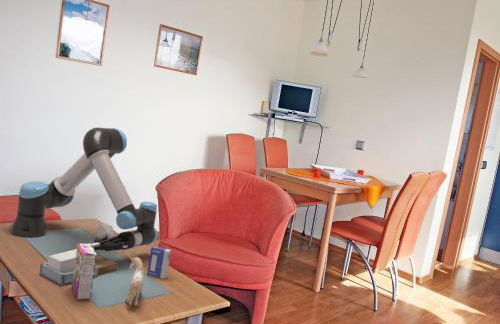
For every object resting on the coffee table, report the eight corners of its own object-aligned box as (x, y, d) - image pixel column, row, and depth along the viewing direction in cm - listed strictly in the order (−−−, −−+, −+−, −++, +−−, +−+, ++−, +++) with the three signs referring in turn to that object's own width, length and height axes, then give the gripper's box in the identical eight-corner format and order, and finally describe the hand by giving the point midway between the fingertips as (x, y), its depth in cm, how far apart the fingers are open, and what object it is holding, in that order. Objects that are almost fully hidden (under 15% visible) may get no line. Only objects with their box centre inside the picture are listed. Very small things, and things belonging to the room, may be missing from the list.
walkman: (146, 274, 187) (151, 246, 186) (149, 272, 190) (154, 245, 188) (164, 279, 185) (169, 251, 184) (167, 277, 188) (171, 249, 187)
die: (116, 242, 223) (114, 223, 227) (111, 237, 215) (109, 218, 219) (99, 245, 222) (98, 227, 226) (94, 241, 214) (92, 222, 218)
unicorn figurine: (138, 287, 173) (143, 253, 172) (148, 310, 156) (154, 273, 154) (119, 286, 170) (124, 252, 169) (126, 310, 153) (132, 272, 151)
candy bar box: (70, 286, 163) (77, 243, 161) (85, 286, 165) (91, 243, 164) (75, 300, 153) (82, 253, 152) (90, 299, 156) (97, 253, 154)
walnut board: (77, 265, 183) (78, 258, 182) (96, 261, 191) (97, 254, 191) (97, 275, 177) (98, 268, 176) (116, 270, 185) (117, 263, 185)
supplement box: (76, 248, 178) (48, 255, 167) (89, 253, 175) (61, 261, 164) (75, 266, 179) (46, 274, 168) (87, 272, 176) (59, 280, 165)
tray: (39, 274, 169) (40, 263, 168) (75, 265, 183) (76, 256, 182) (61, 285, 162) (63, 275, 162) (97, 276, 176) (98, 266, 176)
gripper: (139, 252, 194) (96, 263, 173) (117, 244, 200) (73, 253, 179) (141, 235, 193) (98, 244, 173) (119, 227, 199) (75, 235, 179)
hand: (85, 249), depth 176 cm, fingers closed
